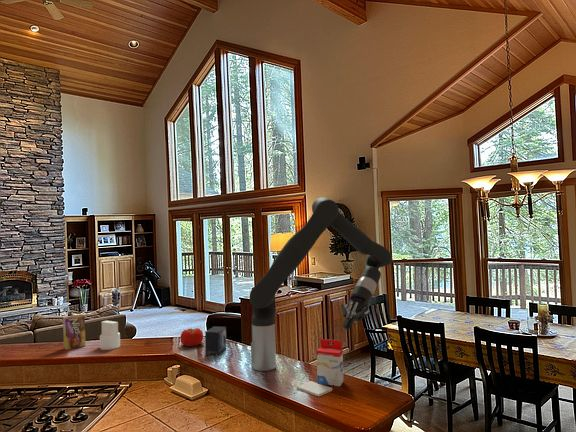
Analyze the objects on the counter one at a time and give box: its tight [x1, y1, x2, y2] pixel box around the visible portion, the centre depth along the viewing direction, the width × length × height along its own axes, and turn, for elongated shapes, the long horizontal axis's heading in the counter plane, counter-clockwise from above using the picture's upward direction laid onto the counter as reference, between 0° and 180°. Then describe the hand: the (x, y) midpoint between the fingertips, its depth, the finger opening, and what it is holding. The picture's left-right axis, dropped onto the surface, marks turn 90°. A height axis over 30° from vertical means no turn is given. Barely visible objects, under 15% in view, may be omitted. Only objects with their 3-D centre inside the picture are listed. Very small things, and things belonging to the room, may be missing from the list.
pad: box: [296, 380, 333, 397], centre depth 144 cm, size 10×7×1 cm
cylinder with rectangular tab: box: [99, 320, 121, 351], centre depth 204 cm, size 9×9×12 cm
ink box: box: [316, 338, 344, 387], centre depth 150 cm, size 8×5×15 cm, turn 68°
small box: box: [204, 325, 227, 357], centre depth 191 cm, size 11×6×10 cm, turn 168°
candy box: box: [62, 313, 86, 351], centre depth 205 cm, size 9×4×15 cm, turn 133°
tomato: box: [179, 327, 204, 348], centre depth 204 cm, size 11×11×8 cm
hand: (345, 328), depth 157 cm, fingers closed
